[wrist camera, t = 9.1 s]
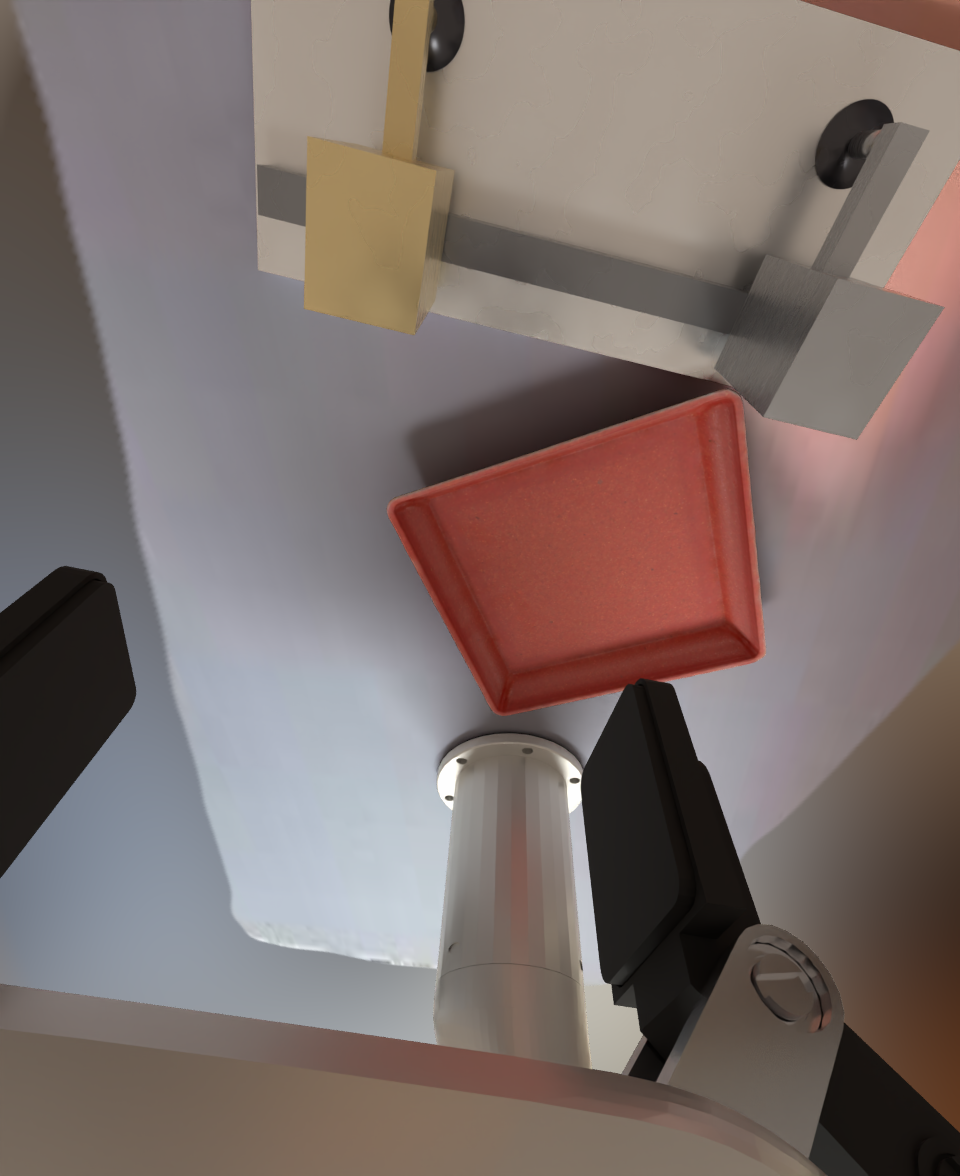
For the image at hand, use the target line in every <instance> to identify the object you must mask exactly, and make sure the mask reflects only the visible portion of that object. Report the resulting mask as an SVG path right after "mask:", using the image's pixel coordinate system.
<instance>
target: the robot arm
mask: <svg viewBox="0 0 960 1176" xmlns="http://www.w3.org/2000/svg"><path fill="white" fill-rule="evenodd" d="M135 697H136V686H135V681H134V677H133V672H132V667H131V663H130V658H129V653H128V649H127V644H126V639H125V634H124V629H123V625H122V620H121V615H120V610H119V606H118V601H117V596H116V592H115V588H114V586H113V585H112V584H110V583H107V581H106V578H105V576H104V575H103V574H101V573H98V572H94V571H89V570H84V569H79V568H74V567H68V566H63V567H59V568H58V569H56V570H55V571H53V572H52V573H50V574H49V575H48V576H47V577H45V578H44V579H43V580H42V581H40V582H39V583H38V584H37V585H35V586H34V587H33V588H31V589H30V590H29V591H28V592H26V593H25V594H24V595H22V596H21V597H20V598H19V599H17V600H16V601H15V602H14V603H12V604H11V605H10V606H8V607H7V608H6V609H5V610H3V611H2V612H1V613H0V878H1V877H2V876H3V874H4V873H5V872H6V870H7V869H8V868H9V867H10V865H11V864H12V863H13V861H14V860H15V859H16V857H17V856H18V855H19V853H20V852H21V851H22V850H23V848H24V847H25V846H26V844H27V843H28V842H29V840H30V839H31V838H32V836H33V835H34V834H35V833H36V831H37V830H38V829H39V827H40V826H41V825H42V824H43V822H44V821H45V820H46V818H47V817H48V816H49V814H50V813H51V812H52V811H53V809H54V808H55V807H56V805H57V804H58V803H59V801H60V800H61V799H62V798H63V796H64V795H65V794H66V792H67V791H68V790H69V788H70V787H71V786H72V784H73V783H74V781H76V779H77V778H78V777H79V775H80V774H81V773H82V771H83V770H84V769H85V767H86V766H87V765H88V764H89V762H90V761H91V760H92V758H93V757H94V756H95V755H96V753H97V752H98V751H99V749H100V748H101V747H102V745H103V744H104V743H105V742H106V740H107V739H108V738H109V736H110V735H111V733H112V732H113V731H114V730H115V729H116V727H117V726H118V725H119V723H120V722H121V720H122V719H123V718H124V717H125V716H126V714H127V713H128V712H129V710H130V709H131V707H132V705H133V703H134V700H135ZM437 790H438V792H439V795H440V797H441V799H442V800H443V801H444V803H445V804H446V805H447V806H448V807H449V808H450V809H451V810H452V820H451V831H450V841H449V852H448V862H447V872H446V883H445V893H444V904H443V914H442V925H441V935H440V946H439V956H438V966H437V977H436V986H435V996H434V1008H433V1009H434V1010H433V1011H434V1012H433V1020H434V1030H435V1036H436V1041H437V1045H434V1044H427V1043H420V1042H414V1041H407V1040H400V1039H393V1038H386V1037H379V1036H372V1035H365V1034H358V1033H351V1032H345V1031H338V1030H330V1029H323V1028H316V1027H309V1026H302V1025H294V1024H288V1023H281V1022H273V1021H266V1020H259V1019H252V1018H245V1017H238V1016H231V1015H224V1014H217V1013H209V1012H202V1011H195V1010H188V1009H181V1008H174V1007H166V1006H159V1005H152V1004H145V1003H137V1002H131V1001H123V1000H116V999H109V998H101V997H94V996H86V995H79V994H72V993H64V992H56V991H49V990H42V989H35V988H27V987H19V986H12V985H5V984H0V1176H960V1133H959V1132H958V1131H957V1130H956V1129H955V1128H954V1127H953V1126H952V1125H951V1124H950V1123H949V1122H948V1121H947V1120H946V1119H945V1118H944V1117H942V1115H941V1114H940V1113H938V1112H937V1111H936V1110H935V1109H934V1108H933V1107H932V1106H931V1105H930V1104H929V1103H928V1102H927V1101H926V1100H925V1099H924V1098H923V1097H922V1096H921V1095H920V1094H919V1093H918V1092H916V1091H915V1090H914V1089H913V1088H912V1087H911V1086H910V1085H909V1084H908V1083H907V1082H906V1081H905V1080H904V1079H903V1078H902V1077H901V1076H900V1075H899V1074H898V1073H896V1072H895V1071H894V1070H893V1069H892V1068H891V1067H890V1066H889V1065H888V1064H887V1063H886V1062H885V1061H884V1060H883V1059H882V1058H881V1057H880V1056H879V1055H878V1054H877V1053H876V1052H874V1051H873V1050H872V1049H871V1048H870V1047H869V1046H868V1045H867V1044H866V1043H865V1042H864V1041H863V1040H862V1039H861V1038H860V1037H859V1036H858V1035H857V1034H856V1033H855V1032H854V1031H853V1030H852V1029H851V1028H849V1027H848V1026H847V1025H846V1024H845V1023H844V1009H843V1005H842V1000H841V996H840V993H839V991H838V989H837V986H836V984H835V982H834V980H833V978H832V976H831V974H830V973H829V971H828V970H827V968H826V967H825V965H824V964H823V963H822V961H821V960H820V959H819V957H818V956H817V955H816V954H815V953H814V952H813V951H812V950H811V949H810V948H809V947H808V946H807V945H806V944H805V943H804V942H803V941H801V940H800V939H798V938H797V937H795V936H794V935H792V934H791V933H789V932H788V931H786V930H783V929H781V928H778V927H776V926H773V925H765V924H761V923H760V920H759V917H758V915H757V911H756V908H755V905H754V902H753V900H752V897H751V894H750V891H749V888H748V885H747V882H746V879H745V876H744V873H743V871H742V867H741V864H740V861H739V859H738V856H737V853H736V850H735V847H734V844H733V841H732V838H731V835H730V832H729V829H728V826H727V823H726V821H725V818H724V815H723V812H722V809H721V806H720V803H719V800H718V797H717V794H716V791H715V788H714V785H713V782H712V780H711V777H710V774H709V772H708V770H707V768H706V766H705V765H704V764H703V763H702V762H701V761H698V759H697V756H696V753H695V750H694V747H693V744H692V741H691V738H690V735H689V732H688V728H687V725H686V722H685V719H684V716H683V713H682V710H681V707H680V704H679V701H678V698H677V695H676V692H675V689H674V687H673V686H672V685H671V684H670V683H664V682H659V681H654V680H649V679H644V678H640V679H638V680H637V681H636V683H635V684H628V685H626V687H625V688H624V690H623V692H622V694H621V696H620V698H619V700H618V702H617V704H616V706H615V708H614V710H613V712H612V714H611V716H610V718H609V720H608V722H607V724H606V726H605V728H604V730H603V732H602V734H601V736H600V738H599V740H598V742H597V744H596V746H595V748H594V750H593V752H592V754H591V756H590V758H589V760H588V762H587V764H586V766H585V768H584V770H583V769H582V766H581V764H580V763H579V761H578V760H577V759H576V758H575V756H574V755H572V754H571V753H570V752H569V751H567V750H566V749H565V748H563V747H561V746H559V745H557V744H556V743H554V742H551V741H548V740H546V739H543V738H540V737H535V736H531V735H526V734H514V733H505V734H492V735H486V736H481V737H478V738H475V739H471V740H469V741H467V742H464V743H462V744H460V745H458V746H457V747H455V748H454V749H453V750H451V751H450V752H449V753H448V754H447V755H446V756H445V757H444V759H443V760H442V762H441V764H440V766H439V768H438V775H437ZM581 801H582V807H583V816H584V825H585V834H586V843H587V852H588V861H589V870H590V879H591V888H592V897H593V906H594V915H595V924H596V933H597V942H598V951H599V960H600V969H601V974H602V977H603V980H604V981H605V983H608V984H611V985H612V993H613V1001H614V1005H618V1006H625V1007H632V1008H637V1012H638V1019H639V1026H640V1031H641V1032H642V1033H643V1036H642V1038H641V1040H640V1041H639V1043H638V1045H637V1047H636V1049H635V1050H634V1052H633V1054H632V1056H631V1058H630V1059H629V1061H628V1063H627V1065H626V1067H625V1069H624V1070H623V1072H622V1074H618V1073H612V1072H606V1071H601V1070H595V1069H592V1064H591V1055H590V1046H589V1037H588V1026H587V1015H586V1003H585V992H584V982H583V968H582V957H581V946H580V934H579V923H578V912H577V900H576V889H575V878H574V866H573V855H572V843H571V831H570V820H569V813H570V812H572V811H573V810H574V809H575V808H576V807H577V806H578V805H579V803H580V802H581Z"/></svg>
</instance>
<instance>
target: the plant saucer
mask: <svg viewBox="0 0 960 1176" xmlns="http://www.w3.org/2000/svg"><path fill="white" fill-rule="evenodd" d="M387 514H388V517H389V519H390V521H391V523H392V524H393V526H394V528H395V530H396V532H397V534H398V536H399V538H400V540H401V542H402V544H403V545H404V547H405V549H406V551H407V553H408V555H409V557H410V559H411V561H412V562H413V564H414V566H415V568H416V570H417V572H418V574H419V576H420V578H421V579H422V581H423V583H424V585H425V587H426V589H427V591H428V593H429V595H430V597H431V598H432V601H433V603H434V605H435V607H436V608H437V610H438V611H439V613H440V615H441V617H442V619H443V621H444V623H445V624H446V626H447V628H448V630H449V632H450V634H451V636H452V638H453V639H454V641H455V643H456V645H457V647H458V649H459V651H460V652H461V654H462V656H463V658H464V660H465V662H466V663H467V665H468V667H469V669H470V671H471V673H472V675H473V677H474V679H475V681H476V682H477V684H478V686H479V688H480V690H481V691H482V693H483V695H484V697H485V699H486V701H487V703H488V705H489V706H490V708H491V710H492V711H493V712H494V713H495V714H497V715H501V716H508V715H513V714H518V713H522V712H527V711H532V710H537V709H541V708H546V707H550V706H555V705H560V704H564V703H569V702H574V701H578V700H583V699H588V698H592V697H596V696H602V695H606V694H612V693H616V692H620V691H623V690H624V688H625V687H626V685H628V684H635V683H636V681H637V680H638V679H640V678H644V679H649V680H654V681H659V682H667V681H671V680H676V679H680V678H686V677H691V676H694V675H698V674H705V673H710V672H713V671H718V670H724V669H729V668H733V667H736V666H742V665H746V664H750V663H754V662H756V661H758V660H759V659H761V658H763V657H764V656H765V654H766V642H765V635H764V620H763V611H762V601H761V591H760V579H759V573H758V561H757V549H756V541H755V524H754V518H753V507H752V496H751V487H750V474H749V465H748V454H747V442H746V428H745V420H744V409H743V402H742V399H741V396H740V395H739V394H738V393H737V392H736V391H734V390H732V389H728V388H727V389H721V390H718V391H715V392H712V393H709V394H706V395H703V396H700V397H697V398H694V399H691V400H688V401H685V402H682V403H679V404H676V405H673V406H670V407H667V408H664V409H661V410H658V411H655V412H652V413H649V414H646V415H643V416H640V417H637V418H634V419H631V420H628V421H625V422H622V423H619V424H616V425H613V426H610V427H607V428H604V429H601V430H598V431H595V432H592V433H589V434H586V435H583V436H580V437H577V438H574V439H571V440H568V441H565V442H562V443H559V444H556V445H553V446H550V447H547V448H544V449H541V450H538V451H535V452H532V453H529V454H526V455H523V456H520V457H517V458H514V459H511V460H508V461H505V462H502V463H499V464H496V465H493V466H490V467H487V468H484V469H481V470H478V471H475V472H471V473H468V474H465V475H462V476H459V477H456V478H453V479H450V480H447V481H444V482H441V483H438V484H435V485H432V486H428V487H425V488H422V489H419V490H416V491H413V492H410V493H407V494H404V495H401V496H398V497H395V498H393V499H392V500H391V501H390V502H389V503H388V506H387Z"/></svg>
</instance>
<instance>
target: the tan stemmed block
mask: <svg viewBox="0 0 960 1176" xmlns="http://www.w3.org/2000/svg"><path fill="white" fill-rule="evenodd" d="M436 25H437V12H436V9H435V7H434V0H395V5H394V17H393V29H392V41H391V52H390V64H389V76H388V88H387V100H386V112H385V124H384V135H383V147H382V151H381V150H378V149H374V148H370V147H367V146H363V145H359V144H354V143H348V142H342V141H336V140H330V139H323V138H317V137H311V136H307V179H306V232H305V285H304V309H308V310H312V311H316V312H320V313H324V314H328V315H333V316H337V317H341V318H345V319H349V320H353V321H357V322H362V323H366V324H370V325H374V326H378V327H382V328H386V329H391V330H395V331H399V332H403V333H407V334H411V335H415V334H416V332H417V330H418V329H419V327H420V325H421V324H422V322H423V320H424V319H425V317H426V315H427V314H428V312H429V310H430V309H431V307H432V305H433V303H434V302H435V299H436V292H437V286H438V279H439V272H440V265H441V259H442V252H443V245H444V239H445V232H446V225H447V219H448V212H449V205H450V199H451V192H452V185H453V179H454V172H455V170H452V169H448V168H444V167H441V166H437V165H433V164H429V163H426V162H422V161H418V160H416V155H417V146H418V138H419V129H420V120H421V112H422V103H423V94H424V85H425V77H426V68H427V59H428V50H429V42H430V33H432V32H433V31H434V29H435V28H436Z"/></svg>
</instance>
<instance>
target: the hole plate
mask: <svg viewBox="0 0 960 1176" xmlns="http://www.w3.org/2000/svg"><path fill="white" fill-rule="evenodd" d="M394 5H395V0H251V18H252V56H253V94H254V132H255V170H256V208H257V246H258V270H260V271H264V272H268V273H272V274H277V275H281V276H285V277H289V278H293V279H297V280H301V281H305V232H306V179H307V136H311V137H317V138H323V139H330V140H336V141H342V142H348V143H354V144H359V145H363V146H367V147H370V148H374V149H378V150H381V151H382V147H383V135H384V124H385V112H386V100H387V88H388V76H389V64H390V52H391V41H392V29H393V17H394ZM434 7H435V9H436V12H437V25H436V28H435V29H434V31H433V32H432V33H430V42H429V50H428V59H427V68H426V77H425V85H424V94H423V103H422V112H421V120H420V129H419V138H418V146H417V155H416V160H418V161H422V162H426V163H429V164H433V165H437V166H441V167H444V168H448V169H452V170H455V172H454V179H453V185H452V192H451V199H450V205H449V212H448V219H447V225H446V232H445V239H444V245H443V252H442V259H441V265H440V272H439V279H438V286H437V292H436V299H435V302H434V303H433V305H432V307H431V309H430V310H429V312H431V313H435V314H439V315H443V316H448V317H452V318H456V319H460V320H464V321H468V322H472V323H476V324H480V325H484V326H488V327H492V328H496V329H500V330H505V331H509V332H513V333H517V334H521V335H525V336H529V337H533V338H537V339H541V340H545V341H549V342H553V343H557V344H562V345H566V346H570V347H574V348H578V349H582V350H586V351H590V352H594V353H598V354H602V355H606V356H610V357H614V358H618V359H623V360H627V361H631V362H635V363H639V364H643V365H647V366H651V367H655V368H659V369H663V370H667V371H671V372H675V373H680V374H684V375H688V376H692V377H696V378H700V379H704V380H708V381H712V382H716V383H720V384H724V385H728V386H732V387H733V388H734V389H735V390H736V391H737V392H739V393H740V394H741V395H742V396H743V397H744V398H745V399H746V400H747V401H748V402H749V403H750V404H751V405H752V406H753V407H754V408H755V409H756V410H757V411H758V412H759V413H760V414H761V415H762V416H763V417H765V418H769V419H773V420H777V421H782V422H786V423H790V424H794V425H798V426H802V427H806V428H811V429H815V430H819V431H823V432H827V433H831V434H835V435H840V436H844V437H848V438H852V439H856V440H857V439H858V437H859V436H860V434H861V433H862V431H863V430H864V428H865V427H866V425H867V424H868V422H869V421H870V419H871V418H872V416H873V415H874V413H875V411H876V410H877V408H878V407H879V405H880V404H881V402H882V401H883V399H884V398H885V396H886V395H887V393H888V392H889V390H890V389H891V387H892V386H893V384H894V383H895V381H896V380H897V378H898V377H899V375H900V374H901V372H902V371H903V369H904V368H905V366H906V365H907V363H908V362H909V360H910V359H911V357H912V356H913V354H914V353H915V351H916V350H917V348H918V347H919V345H920V344H921V342H922V341H923V339H924V338H925V336H926V335H927V333H928V332H929V330H930V329H931V327H932V326H933V324H934V323H935V321H936V320H937V318H938V317H939V315H940V313H941V312H942V310H943V309H944V307H942V306H939V305H936V304H933V303H930V302H927V301H924V300H921V299H917V298H914V297H911V296H908V295H905V294H902V293H899V292H896V291H893V290H889V289H886V288H884V287H885V285H886V283H887V282H888V280H889V278H890V277H891V275H892V273H893V271H894V270H895V268H896V266H897V265H898V263H899V261H900V260H901V258H902V256H903V255H904V253H905V251H906V249H907V248H908V246H909V244H910V243H911V241H912V239H913V238H914V236H915V234H916V233H917V231H918V229H919V227H920V226H921V224H922V222H923V221H924V219H925V217H926V216H927V214H928V212H929V210H930V209H931V207H932V205H933V204H934V202H935V200H936V199H937V197H938V195H939V194H940V192H941V190H942V188H943V187H944V185H945V183H946V182H947V180H948V178H949V177H950V175H951V173H952V172H953V170H954V168H955V166H956V165H957V163H958V161H959V160H960V51H958V50H955V49H952V48H949V47H946V46H943V45H939V44H936V43H933V42H930V41H927V40H924V39H920V38H917V37H914V36H911V35H908V34H905V33H901V32H898V31H895V30H892V29H889V28H886V27H882V26H879V25H876V24H873V23H870V22H867V21H863V20H860V19H857V18H854V17H851V16H848V15H845V14H841V13H838V12H835V11H832V10H829V9H826V8H822V7H819V6H816V5H813V4H810V3H807V2H803V1H800V0H434Z"/></svg>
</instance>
